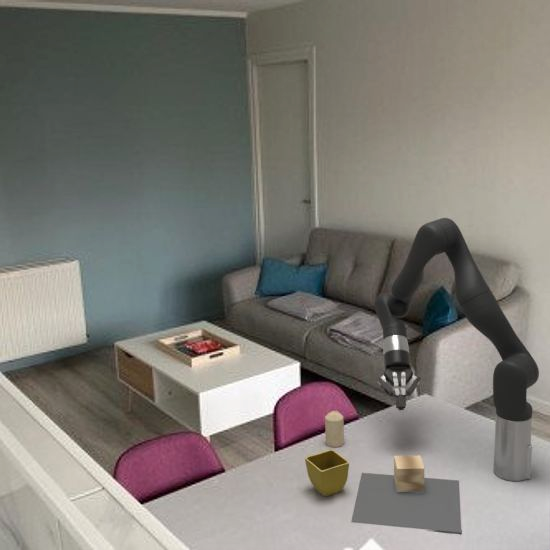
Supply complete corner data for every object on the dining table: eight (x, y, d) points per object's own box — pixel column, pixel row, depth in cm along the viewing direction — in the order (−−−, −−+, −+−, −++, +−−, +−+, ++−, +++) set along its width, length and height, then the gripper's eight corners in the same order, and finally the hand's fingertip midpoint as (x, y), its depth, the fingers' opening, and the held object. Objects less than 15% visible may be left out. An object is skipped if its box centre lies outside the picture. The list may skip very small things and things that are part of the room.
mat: (458, 481, 186) (458, 480, 186) (461, 534, 163) (461, 532, 163) (361, 473, 192) (361, 472, 192) (351, 523, 169) (351, 522, 169)
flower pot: (322, 503, 178) (321, 471, 176) (305, 487, 186) (304, 457, 184) (350, 493, 182) (350, 462, 180) (332, 478, 190) (332, 448, 188)
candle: (342, 448, 207) (342, 417, 205) (324, 446, 208) (323, 416, 206) (344, 439, 212) (344, 409, 210) (327, 438, 213) (326, 408, 211)
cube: (420, 479, 187) (420, 455, 186) (424, 493, 180) (424, 468, 179) (394, 479, 188) (394, 455, 186) (397, 493, 181) (397, 468, 179)
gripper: (374, 348, 203) (378, 404, 194) (420, 347, 202) (426, 404, 193) (373, 359, 210) (377, 414, 201) (417, 358, 209) (423, 413, 200)
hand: (401, 409), depth 197 cm, fingers closed
